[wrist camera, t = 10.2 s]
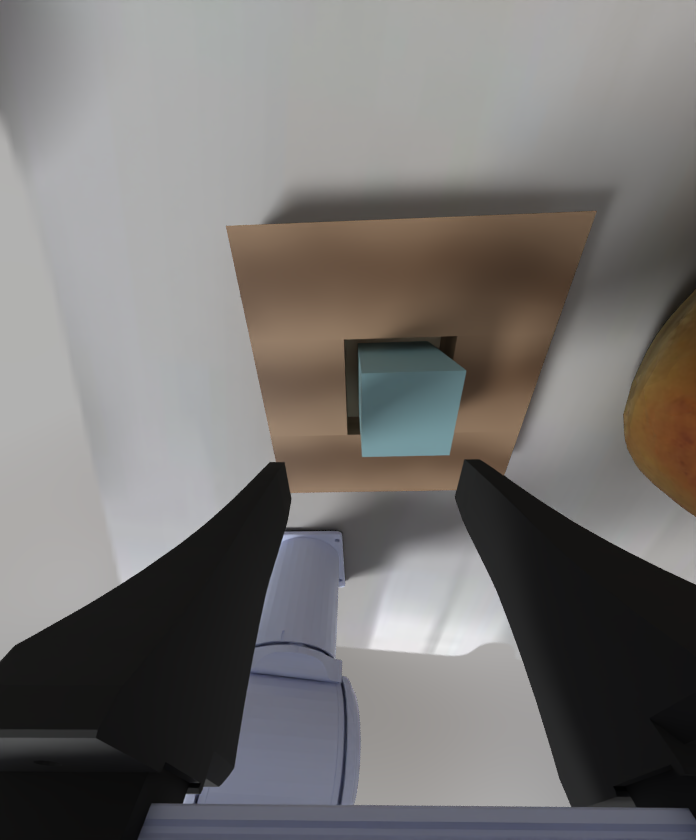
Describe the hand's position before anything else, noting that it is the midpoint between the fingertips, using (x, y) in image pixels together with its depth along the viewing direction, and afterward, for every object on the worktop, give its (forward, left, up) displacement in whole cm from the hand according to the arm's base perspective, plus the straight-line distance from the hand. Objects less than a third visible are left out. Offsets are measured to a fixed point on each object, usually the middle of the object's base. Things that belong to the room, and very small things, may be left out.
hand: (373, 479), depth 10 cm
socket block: (+2, -2, -9) cm, 9 cm away
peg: (+2, -2, -8) cm, 9 cm away
